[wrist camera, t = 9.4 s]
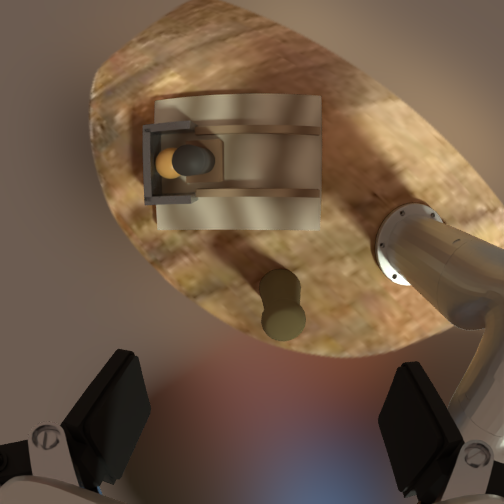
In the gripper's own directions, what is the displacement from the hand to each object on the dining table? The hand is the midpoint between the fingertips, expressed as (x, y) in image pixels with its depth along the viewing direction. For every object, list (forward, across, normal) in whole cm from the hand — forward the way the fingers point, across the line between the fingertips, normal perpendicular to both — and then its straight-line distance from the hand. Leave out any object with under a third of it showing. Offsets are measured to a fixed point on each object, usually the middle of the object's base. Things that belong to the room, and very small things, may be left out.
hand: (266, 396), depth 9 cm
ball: (+28, +13, -8) cm, 32 cm away
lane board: (+32, +5, -8) cm, 33 cm away
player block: (+30, +8, -8) cm, 32 cm away
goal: (+30, +13, -8) cm, 34 cm away
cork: (+32, -2, +10) cm, 34 cm away
